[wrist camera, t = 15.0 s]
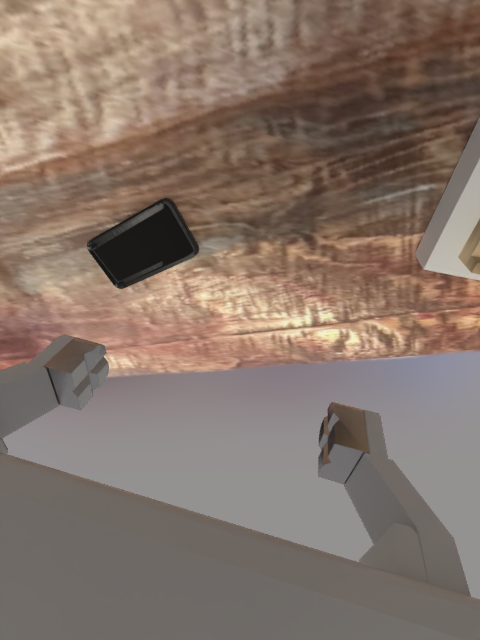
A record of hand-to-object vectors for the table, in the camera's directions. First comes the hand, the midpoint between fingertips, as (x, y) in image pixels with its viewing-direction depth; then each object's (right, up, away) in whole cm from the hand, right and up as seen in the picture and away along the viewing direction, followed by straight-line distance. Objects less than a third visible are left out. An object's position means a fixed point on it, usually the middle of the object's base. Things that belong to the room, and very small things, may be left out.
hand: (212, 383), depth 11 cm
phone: (-12, +12, +32) cm, 36 cm away
